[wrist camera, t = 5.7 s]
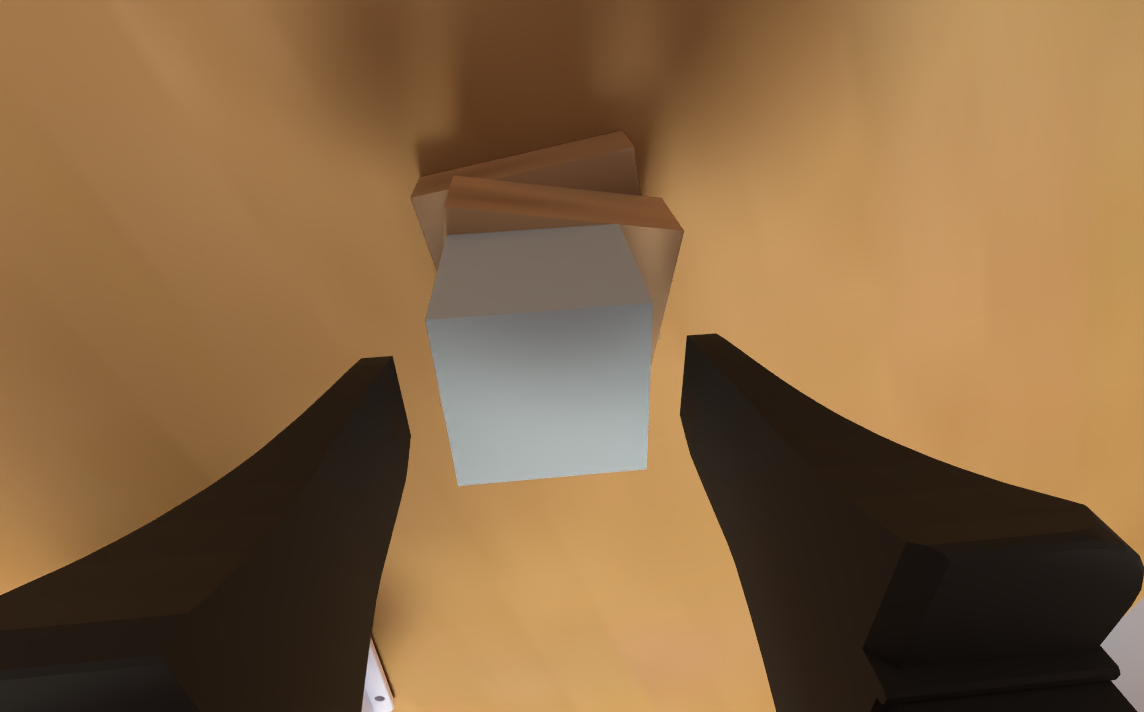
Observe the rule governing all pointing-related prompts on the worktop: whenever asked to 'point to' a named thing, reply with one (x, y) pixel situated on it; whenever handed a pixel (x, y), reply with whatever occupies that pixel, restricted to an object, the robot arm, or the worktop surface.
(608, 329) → the gray cube
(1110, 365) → the worktop surface
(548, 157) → the slab base
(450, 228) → the slab top
